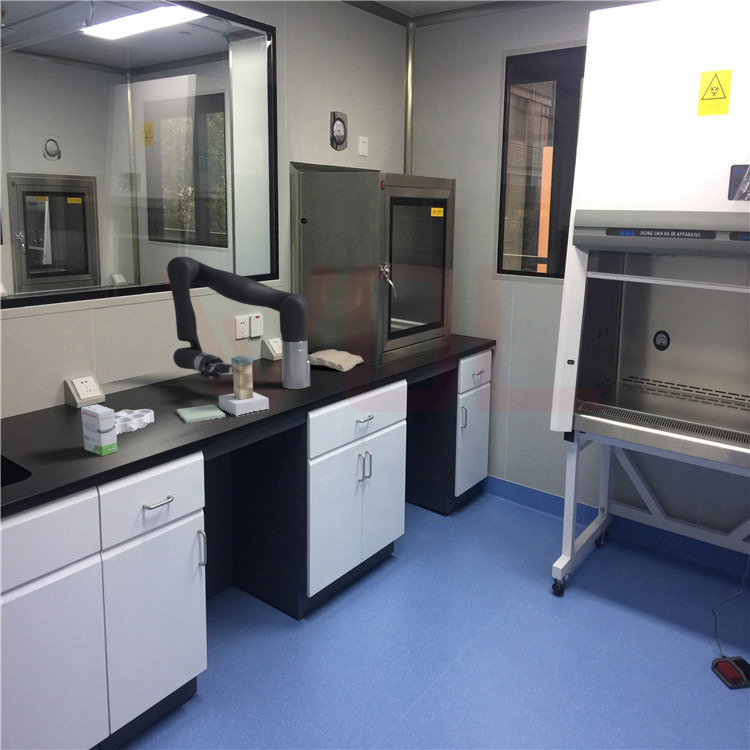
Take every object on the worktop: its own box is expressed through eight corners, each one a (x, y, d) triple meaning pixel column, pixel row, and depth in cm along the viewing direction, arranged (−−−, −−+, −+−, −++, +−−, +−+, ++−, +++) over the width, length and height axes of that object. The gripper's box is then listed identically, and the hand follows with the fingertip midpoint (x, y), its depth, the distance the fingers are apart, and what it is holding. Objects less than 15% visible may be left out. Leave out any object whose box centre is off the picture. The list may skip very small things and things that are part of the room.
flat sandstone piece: (339, 376, 265) (365, 362, 281) (337, 358, 263) (364, 345, 279) (290, 370, 277) (317, 357, 293) (288, 353, 275) (316, 341, 291)
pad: (214, 407, 218) (214, 404, 218) (225, 417, 208) (225, 414, 208) (176, 412, 212) (176, 409, 212) (186, 422, 202) (186, 419, 202)
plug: (247, 406, 220) (245, 355, 216) (254, 409, 217) (253, 358, 213) (233, 408, 217) (231, 357, 213) (240, 412, 214) (238, 360, 209)
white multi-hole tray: (130, 415, 210) (164, 422, 204) (81, 431, 195) (117, 440, 188) (129, 405, 209) (164, 412, 203) (80, 420, 194) (116, 428, 187)
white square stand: (250, 402, 225) (250, 390, 224) (268, 410, 216) (268, 398, 215) (219, 408, 218) (218, 396, 217) (236, 416, 209) (236, 404, 208)
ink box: (118, 451, 178) (115, 409, 175) (101, 456, 174) (97, 413, 172) (100, 444, 183) (97, 403, 180) (83, 449, 179) (79, 407, 177)
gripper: (188, 357, 227) (210, 366, 215) (227, 352, 236) (249, 360, 224) (190, 378, 229) (211, 388, 217) (227, 372, 238) (250, 382, 226)
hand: (230, 374), depth 220 cm, fingers open, 8 cm apart
